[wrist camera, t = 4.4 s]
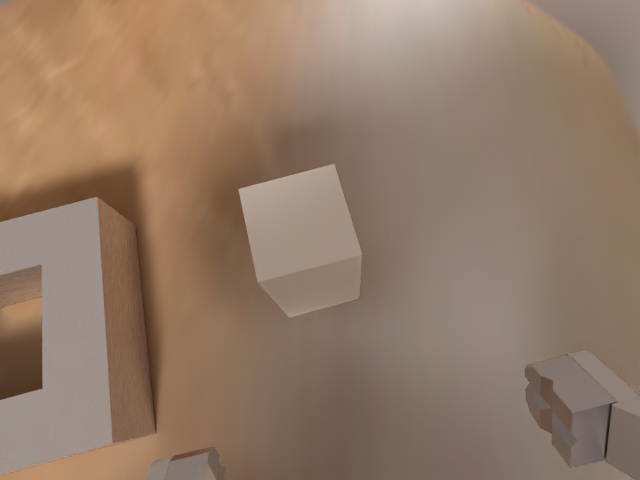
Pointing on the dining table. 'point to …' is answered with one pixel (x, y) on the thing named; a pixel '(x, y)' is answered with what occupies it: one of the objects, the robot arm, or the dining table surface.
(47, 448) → the grey square socket base
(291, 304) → the plug
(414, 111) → the dining table surface
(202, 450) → the robot arm
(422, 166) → the dining table surface
